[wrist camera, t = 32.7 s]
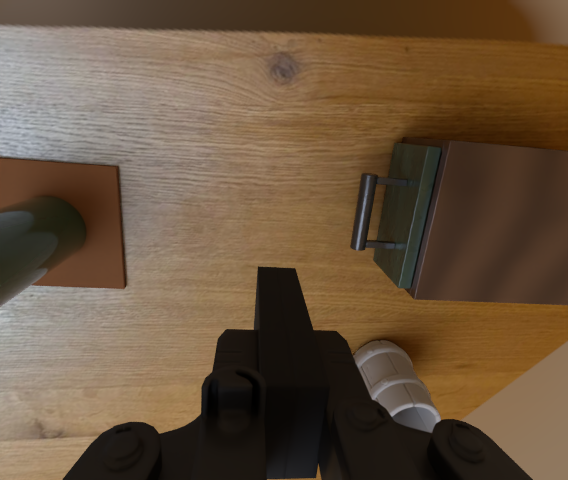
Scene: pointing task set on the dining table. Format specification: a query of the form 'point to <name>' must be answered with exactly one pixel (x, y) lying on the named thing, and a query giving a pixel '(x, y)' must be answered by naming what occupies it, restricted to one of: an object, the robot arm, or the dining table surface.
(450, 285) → the cabinet
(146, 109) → the dining table surface
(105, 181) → the cork mat
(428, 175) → the drawer
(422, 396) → the mug
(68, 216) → the oil bottle
